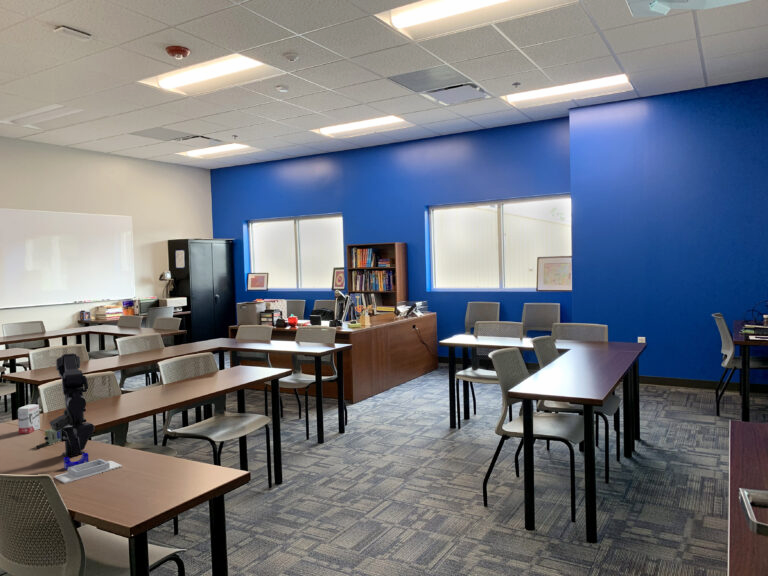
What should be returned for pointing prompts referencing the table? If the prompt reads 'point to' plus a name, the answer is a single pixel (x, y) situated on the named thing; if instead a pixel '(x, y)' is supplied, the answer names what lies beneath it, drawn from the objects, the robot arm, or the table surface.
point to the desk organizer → (87, 470)
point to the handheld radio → (50, 437)
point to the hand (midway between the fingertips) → (76, 447)
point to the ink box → (28, 418)
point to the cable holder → (83, 460)
